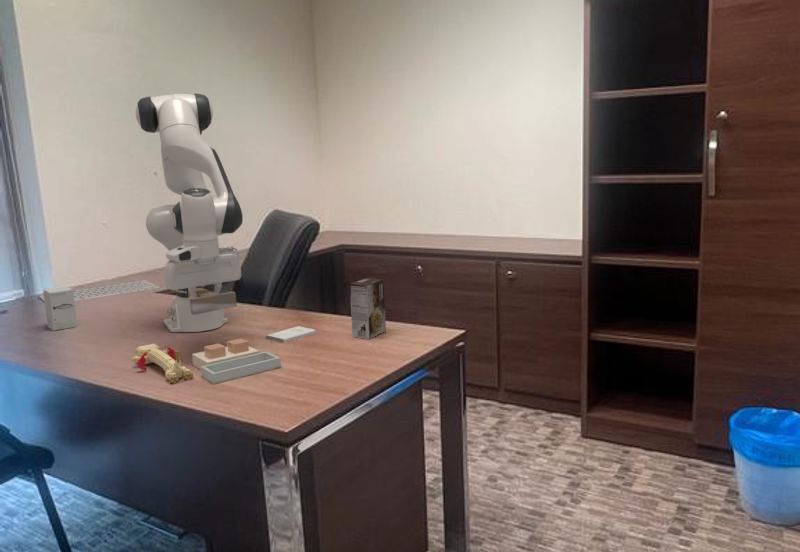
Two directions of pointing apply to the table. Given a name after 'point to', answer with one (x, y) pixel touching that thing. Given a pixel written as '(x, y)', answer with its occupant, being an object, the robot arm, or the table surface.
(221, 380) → the tray
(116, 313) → the table surface
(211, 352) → the tile
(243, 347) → the tile
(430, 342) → the table surface
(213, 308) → the scraper
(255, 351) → the board
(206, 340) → the table surface
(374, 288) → the coffee box
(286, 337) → the external hard drive
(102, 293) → the computer keyboard
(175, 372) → the beige long curved piece
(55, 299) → the supplement box
